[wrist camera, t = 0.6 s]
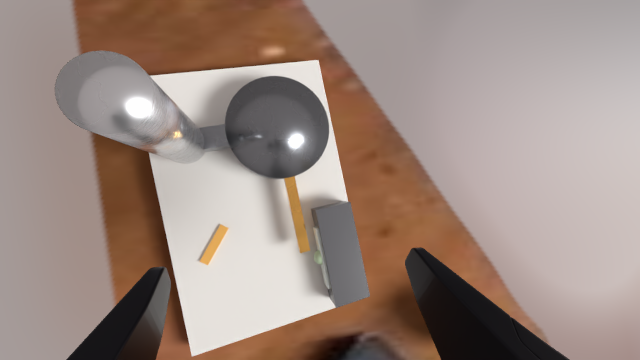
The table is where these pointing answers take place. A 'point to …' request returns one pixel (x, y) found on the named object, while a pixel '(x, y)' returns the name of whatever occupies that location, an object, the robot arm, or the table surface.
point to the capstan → (183, 134)
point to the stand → (252, 223)
